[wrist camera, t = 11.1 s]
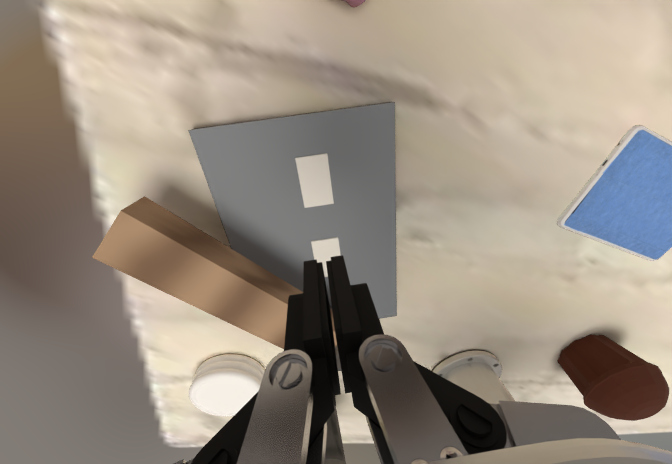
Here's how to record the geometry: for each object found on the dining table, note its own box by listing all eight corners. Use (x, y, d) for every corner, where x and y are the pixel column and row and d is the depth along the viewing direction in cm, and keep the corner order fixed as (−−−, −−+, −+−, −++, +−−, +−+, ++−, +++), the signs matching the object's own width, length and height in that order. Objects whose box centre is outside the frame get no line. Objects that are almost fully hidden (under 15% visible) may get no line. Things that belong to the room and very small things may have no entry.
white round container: (216, 400, 41) (209, 424, 38) (183, 362, 36) (172, 386, 33) (275, 384, 41) (273, 407, 38) (250, 344, 36) (245, 367, 33)
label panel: (393, 309, 36) (404, 333, 32) (265, 330, 35) (260, 358, 31) (390, 102, 24) (406, 102, 20) (193, 128, 23) (172, 134, 19)
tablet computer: (549, 222, 32) (558, 227, 31) (629, 121, 27) (643, 122, 26) (645, 258, 37) (656, 263, 36) (728, 178, 32) (743, 181, 31)
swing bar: (367, 330, 31) (372, 352, 28) (339, 354, 32) (342, 376, 29) (144, 196, 21) (120, 210, 18) (117, 238, 22) (92, 257, 19)
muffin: (625, 323, 43) (708, 381, 34) (602, 365, 48) (668, 424, 39) (558, 336, 43) (624, 398, 34) (542, 376, 48) (595, 439, 39)
